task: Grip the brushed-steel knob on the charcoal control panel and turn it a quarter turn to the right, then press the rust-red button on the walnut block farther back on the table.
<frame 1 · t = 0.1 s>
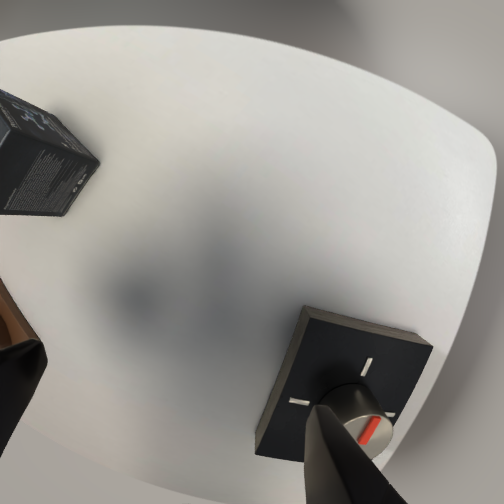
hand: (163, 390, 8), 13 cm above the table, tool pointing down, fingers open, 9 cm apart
panel: (336, 388, 22), on the table
knob: (353, 425, 17), point 5 cm above the table, hinge at 0.0°
box: (58, 163, 21), on the table
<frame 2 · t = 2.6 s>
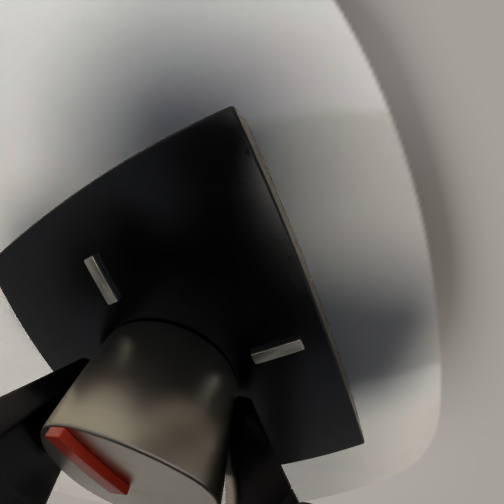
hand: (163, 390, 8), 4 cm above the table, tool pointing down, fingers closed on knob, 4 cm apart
panel: (188, 327, 11), on the table
knob: (145, 430, 6), point 5 cm above the table, hinge at 0.0°, touching gripper
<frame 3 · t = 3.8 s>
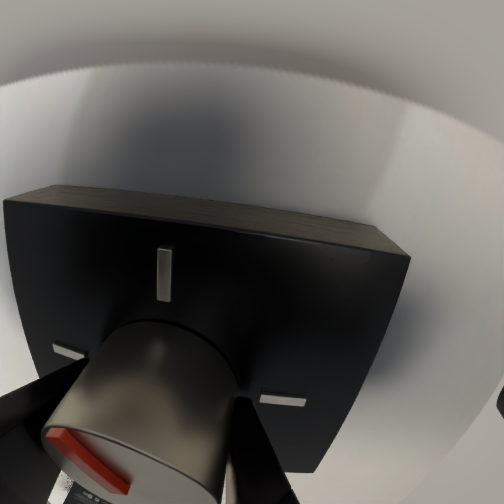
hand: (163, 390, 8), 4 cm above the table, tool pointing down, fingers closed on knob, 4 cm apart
panel: (188, 327, 11), on the table
knob: (145, 431, 6), point 5 cm above the table, hinge at -59.2°, touching gripper
box: (94, 497, 21), on the table
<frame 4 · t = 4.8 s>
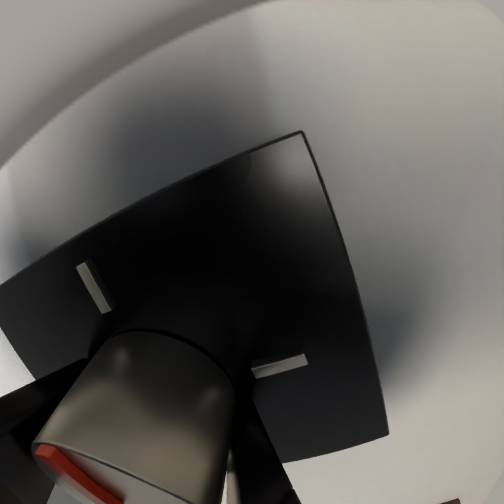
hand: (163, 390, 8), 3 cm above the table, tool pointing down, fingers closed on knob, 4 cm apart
panel: (186, 334, 11), on the table
knob: (139, 445, 6), point 5 cm above the table, hinge at -90.5°, touching gripper
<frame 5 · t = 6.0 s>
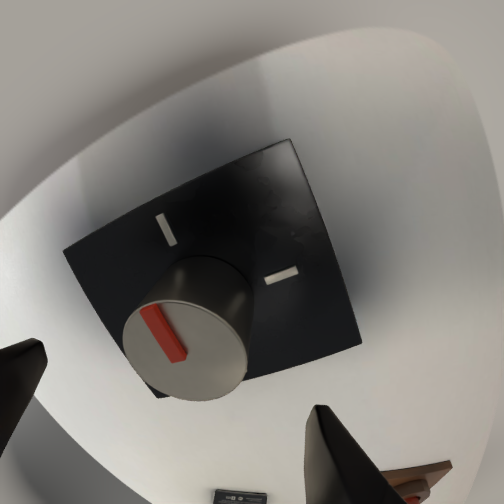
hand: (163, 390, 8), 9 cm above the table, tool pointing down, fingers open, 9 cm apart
panel: (216, 275, 16), on the table
button block: (398, 485, 24), on the table
knob: (193, 328, 11), point 5 cm above the table, hinge at -90.7°
box: (240, 501, 26), on the table
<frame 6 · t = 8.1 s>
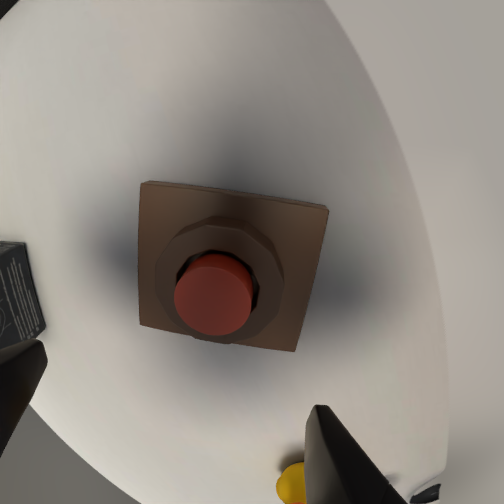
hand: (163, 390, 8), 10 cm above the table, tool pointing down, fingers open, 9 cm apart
button block: (225, 267, 18), on the table
duckling: (304, 465, 25), on the table
button: (214, 294, 14), point 3 cm above the table, slide at 0.1 cm
box: (16, 283, 20), on the table
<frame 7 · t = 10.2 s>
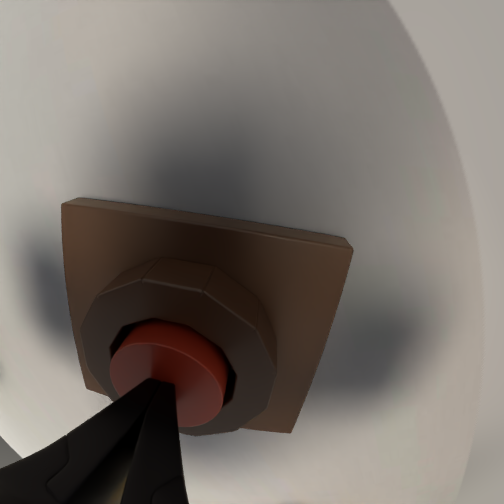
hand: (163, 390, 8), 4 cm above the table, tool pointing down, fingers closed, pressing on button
button block: (190, 325, 12), on the table
button: (170, 372, 9), point 3 cm above the table, slide at -0.5 cm, touching gripper
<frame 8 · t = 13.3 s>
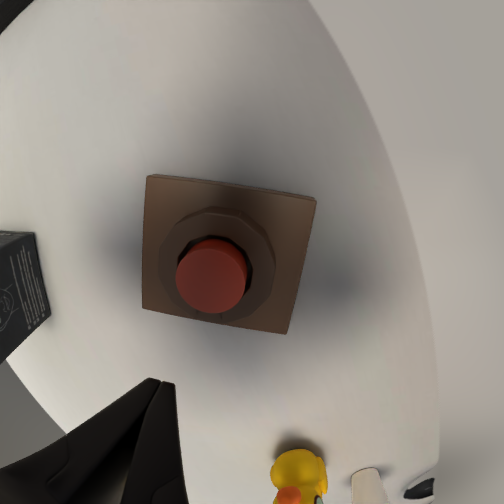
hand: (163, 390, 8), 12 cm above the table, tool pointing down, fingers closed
button block: (222, 254, 19), on the table
duckling: (297, 453, 26), on the table
button: (212, 275, 16), point 3 cm above the table, slide at 0.1 cm
cup: (364, 473, 28), on the table
box: (23, 272, 21), on the table
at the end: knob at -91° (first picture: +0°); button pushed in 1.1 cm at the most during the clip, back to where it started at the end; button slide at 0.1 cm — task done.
